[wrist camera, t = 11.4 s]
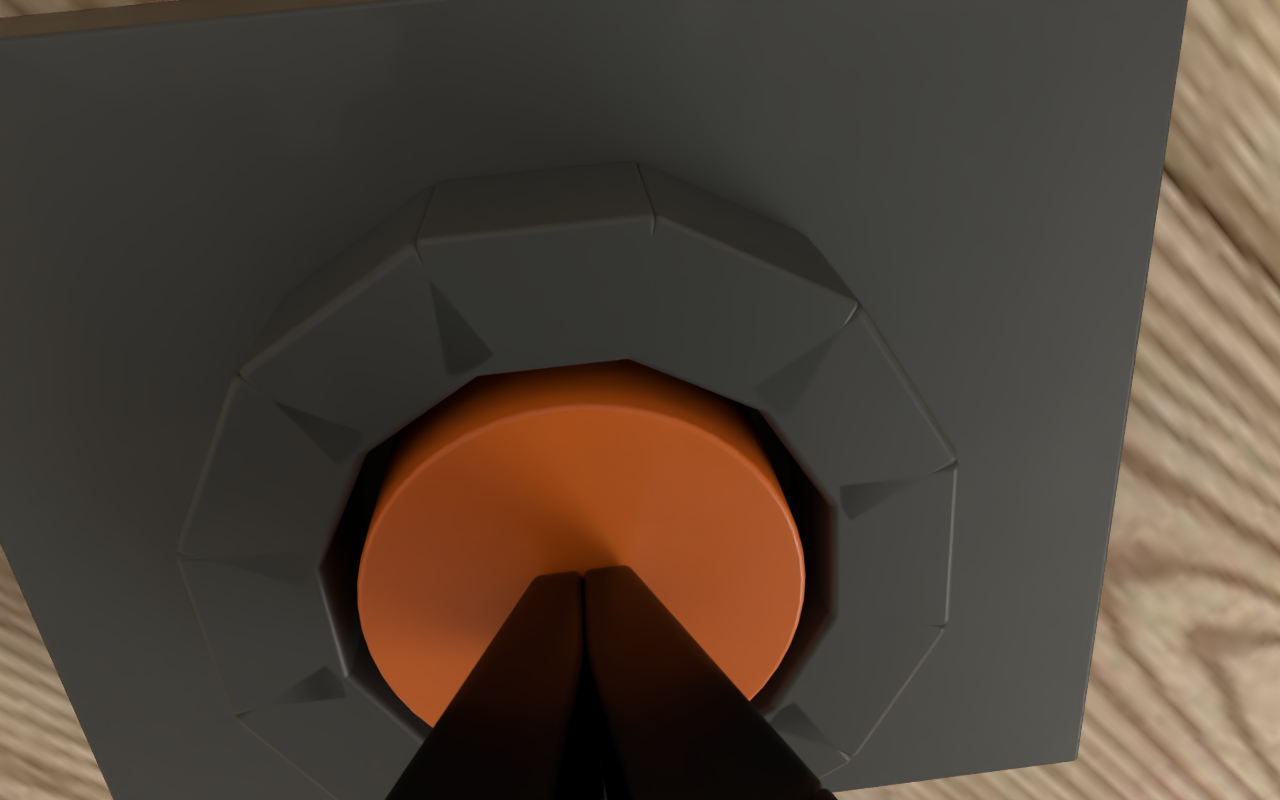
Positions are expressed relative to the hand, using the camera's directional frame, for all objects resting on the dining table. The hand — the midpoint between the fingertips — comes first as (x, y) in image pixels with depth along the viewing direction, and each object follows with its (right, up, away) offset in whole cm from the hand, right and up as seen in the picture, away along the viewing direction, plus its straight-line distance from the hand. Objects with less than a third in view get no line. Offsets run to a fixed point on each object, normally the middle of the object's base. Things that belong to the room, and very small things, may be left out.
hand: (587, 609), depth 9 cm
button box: (0, +2, +4) cm, 5 cm away
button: (0, +1, +2) cm, 2 cm away
